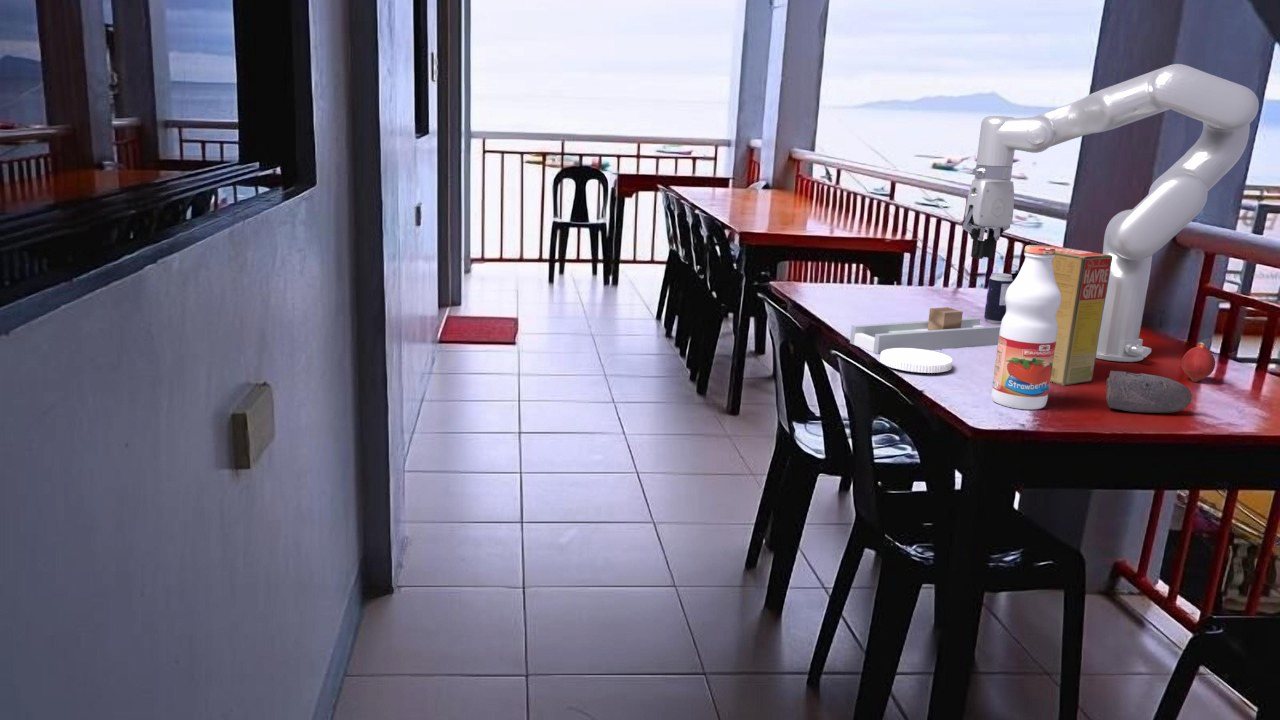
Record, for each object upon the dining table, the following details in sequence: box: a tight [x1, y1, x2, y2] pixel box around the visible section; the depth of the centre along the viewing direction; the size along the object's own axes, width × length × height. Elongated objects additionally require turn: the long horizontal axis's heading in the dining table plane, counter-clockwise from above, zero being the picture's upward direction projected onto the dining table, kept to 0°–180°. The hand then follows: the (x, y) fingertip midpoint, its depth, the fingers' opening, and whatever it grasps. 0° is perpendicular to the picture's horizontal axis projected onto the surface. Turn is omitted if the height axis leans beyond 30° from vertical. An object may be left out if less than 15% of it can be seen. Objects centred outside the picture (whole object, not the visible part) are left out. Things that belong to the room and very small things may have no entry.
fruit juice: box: [990, 244, 1062, 410], centre depth 168 cm, size 9×9×28 cm
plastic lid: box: [879, 348, 954, 374], centre depth 194 cm, size 14×14×2 cm
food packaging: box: [1048, 245, 1113, 387], centre depth 188 cm, size 13×9×25 cm
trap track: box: [849, 317, 1001, 355], centre depth 214 cm, size 10×35×4 cm, turn 113°
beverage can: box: [983, 272, 1014, 325], centre depth 239 cm, size 6×6×12 cm
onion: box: [1180, 342, 1216, 382], centre depth 190 cm, size 6×6×8 cm
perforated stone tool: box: [1105, 370, 1193, 414], centre depth 168 cm, size 15×5×7 cm, turn 81°
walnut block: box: [927, 306, 963, 330], centre depth 215 cm, size 5×5×5 cm
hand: (982, 257), depth 215 cm, fingers open, 2 cm apart
